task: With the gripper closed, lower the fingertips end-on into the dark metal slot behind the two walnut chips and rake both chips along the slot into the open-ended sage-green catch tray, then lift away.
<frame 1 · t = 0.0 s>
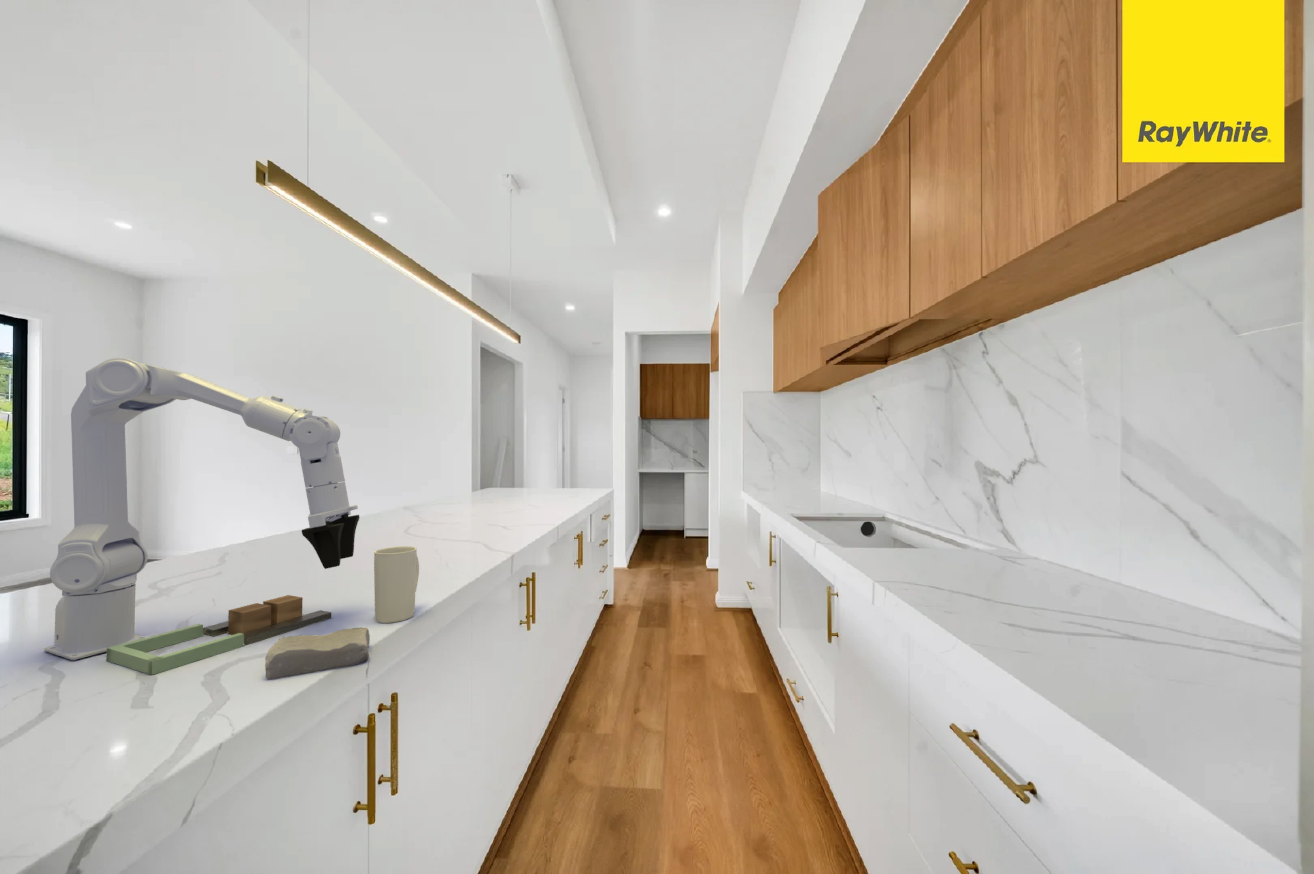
hand: (339, 562, 84), 11 cm above the table, tool pointing down, fingers open, 7 cm apart
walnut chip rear: (282, 622, 85), on the table
catch tray: (175, 653, 72), on the table
slot rails: (269, 625, 83), on the table
stone block: (322, 662, 70), on the table
walnut chip front: (249, 632, 80), on the table
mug: (400, 615, 89), on the table
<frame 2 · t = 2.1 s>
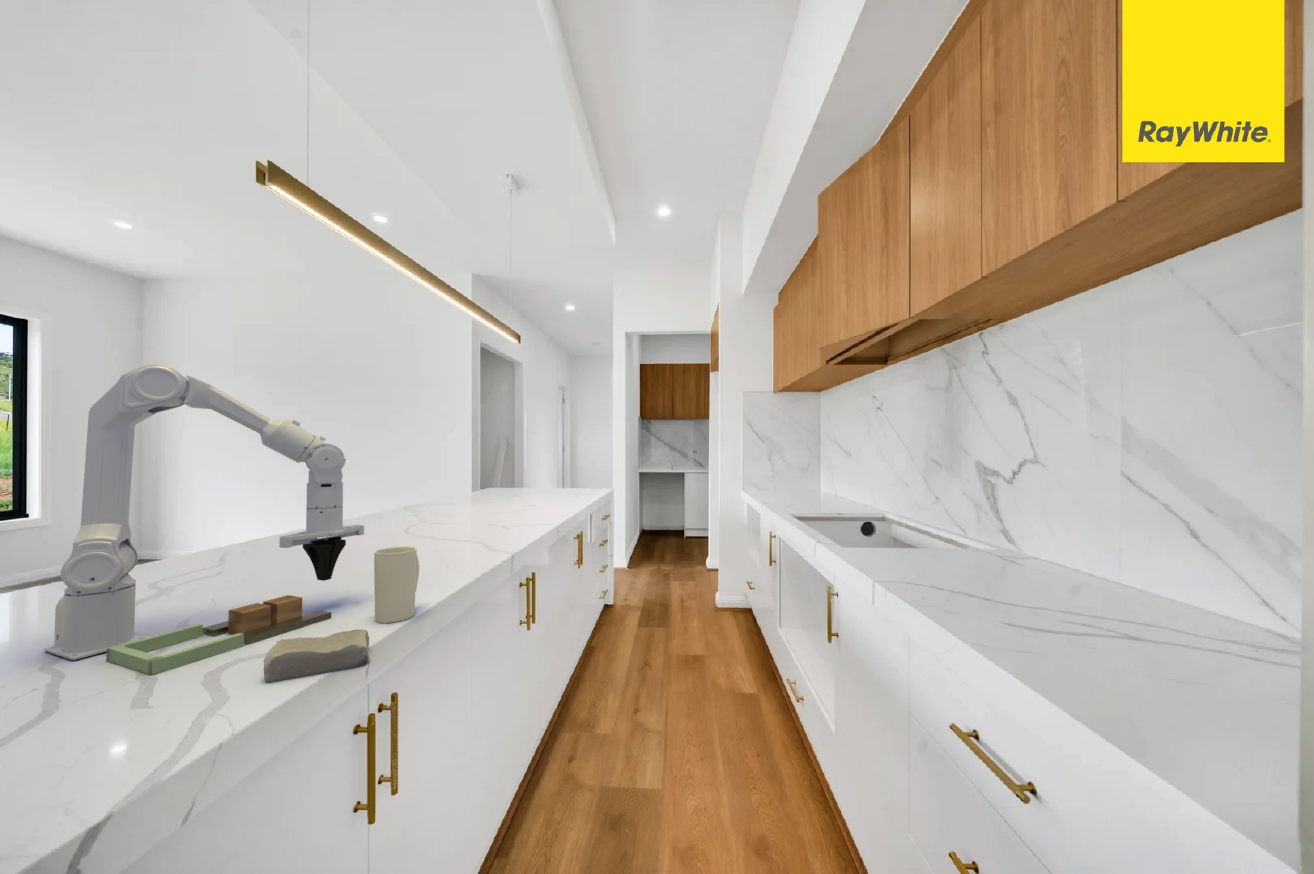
hand: (324, 579, 92), 6 cm above the table, tool pointing down, fingers closed
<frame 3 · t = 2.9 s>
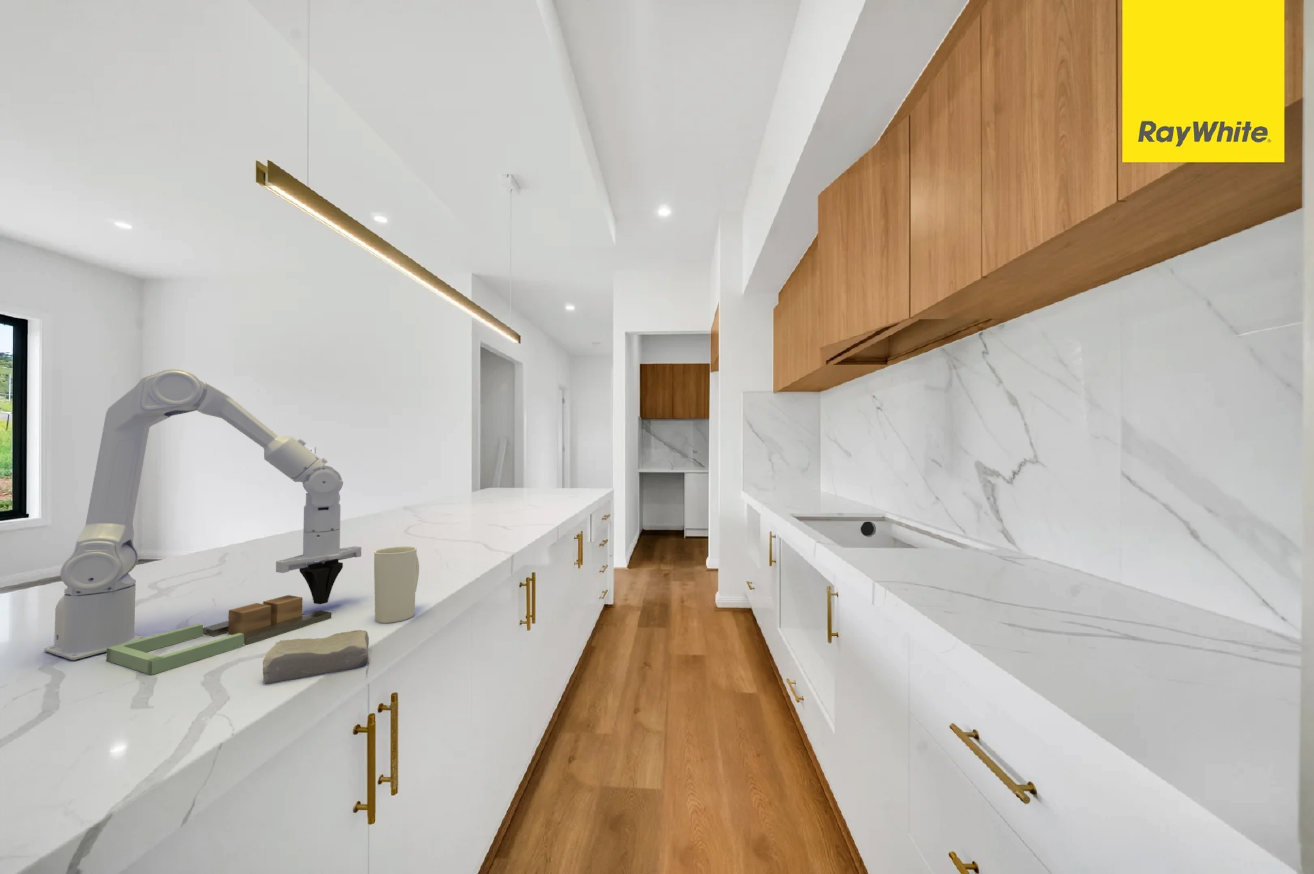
hand: (320, 602, 91), 1 cm above the table, tool pointing down, fingers closed
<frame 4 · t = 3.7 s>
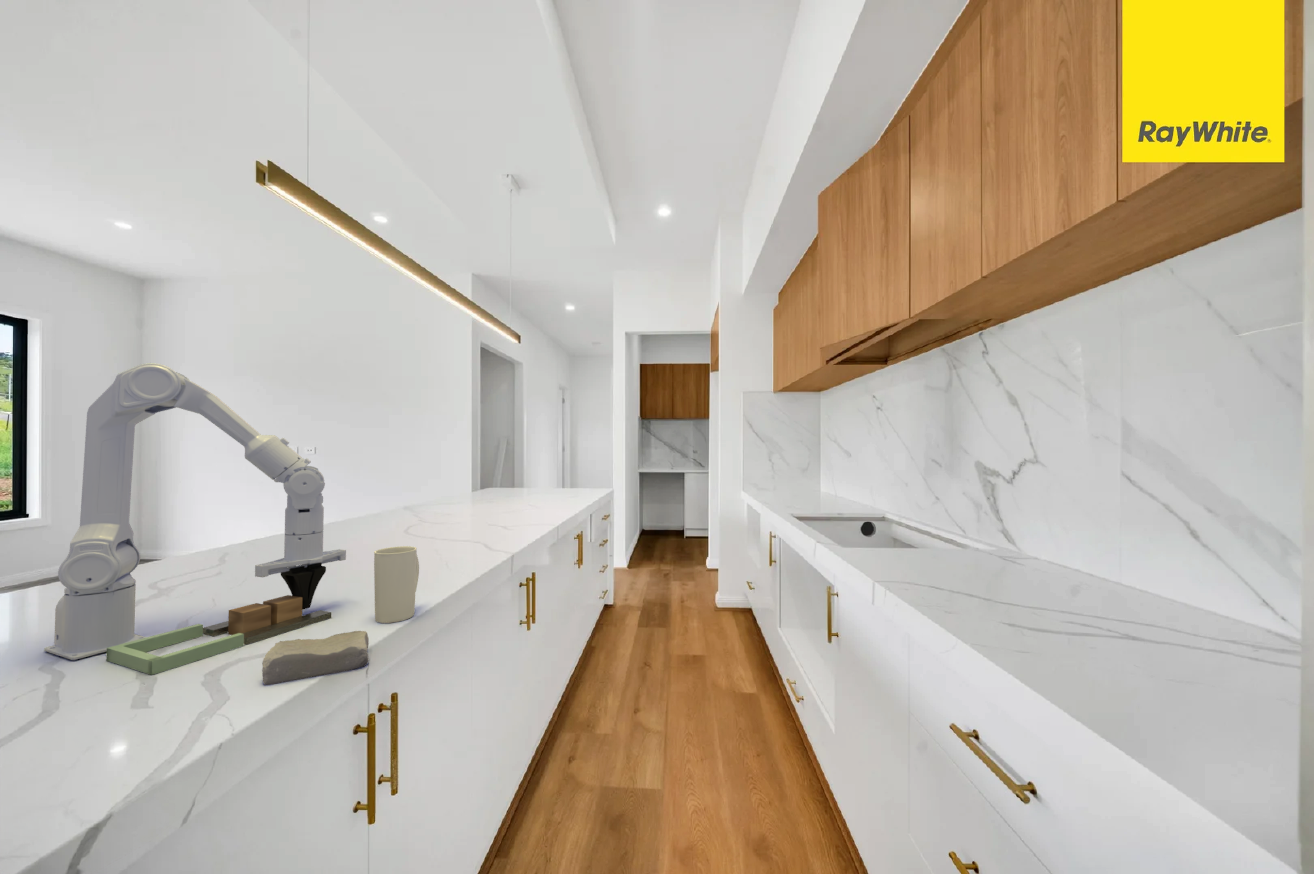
hand: (302, 607, 88), 1 cm above the table, tool pointing down, fingers closed
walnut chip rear: (282, 622, 85), on the table, touching gripper
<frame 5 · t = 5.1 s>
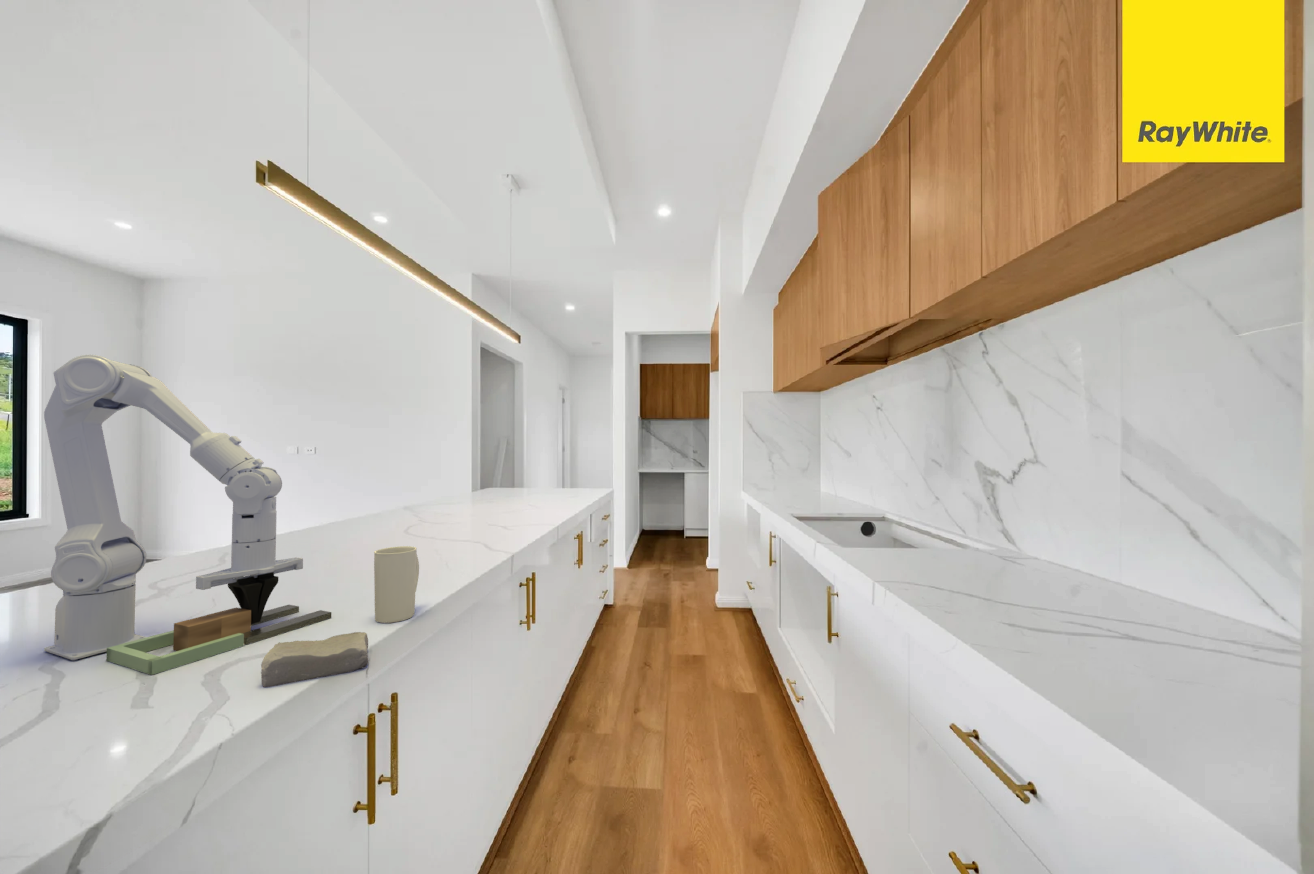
hand: (252, 622, 81), 1 cm above the table, tool pointing down, fingers closed
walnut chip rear: (228, 637, 78), on the table, touching gripper
walnut chip front: (197, 647, 74), on the table
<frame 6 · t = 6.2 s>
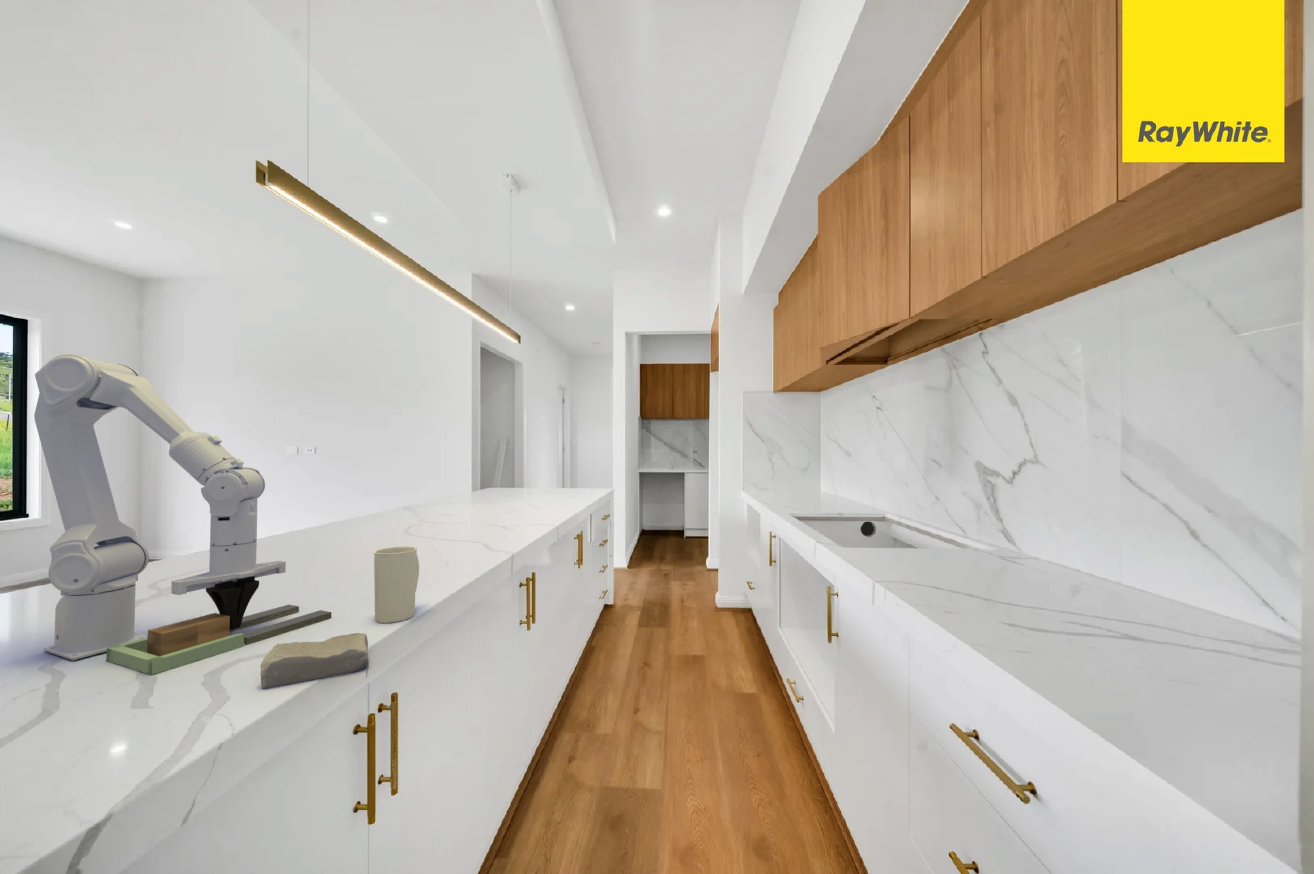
hand: (232, 627, 78), 1 cm above the table, tool pointing down, fingers closed
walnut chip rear: (206, 644, 75), on the table, touching gripper, walnut chip front
walnut chip front: (172, 654, 71), on the table, touching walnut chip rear
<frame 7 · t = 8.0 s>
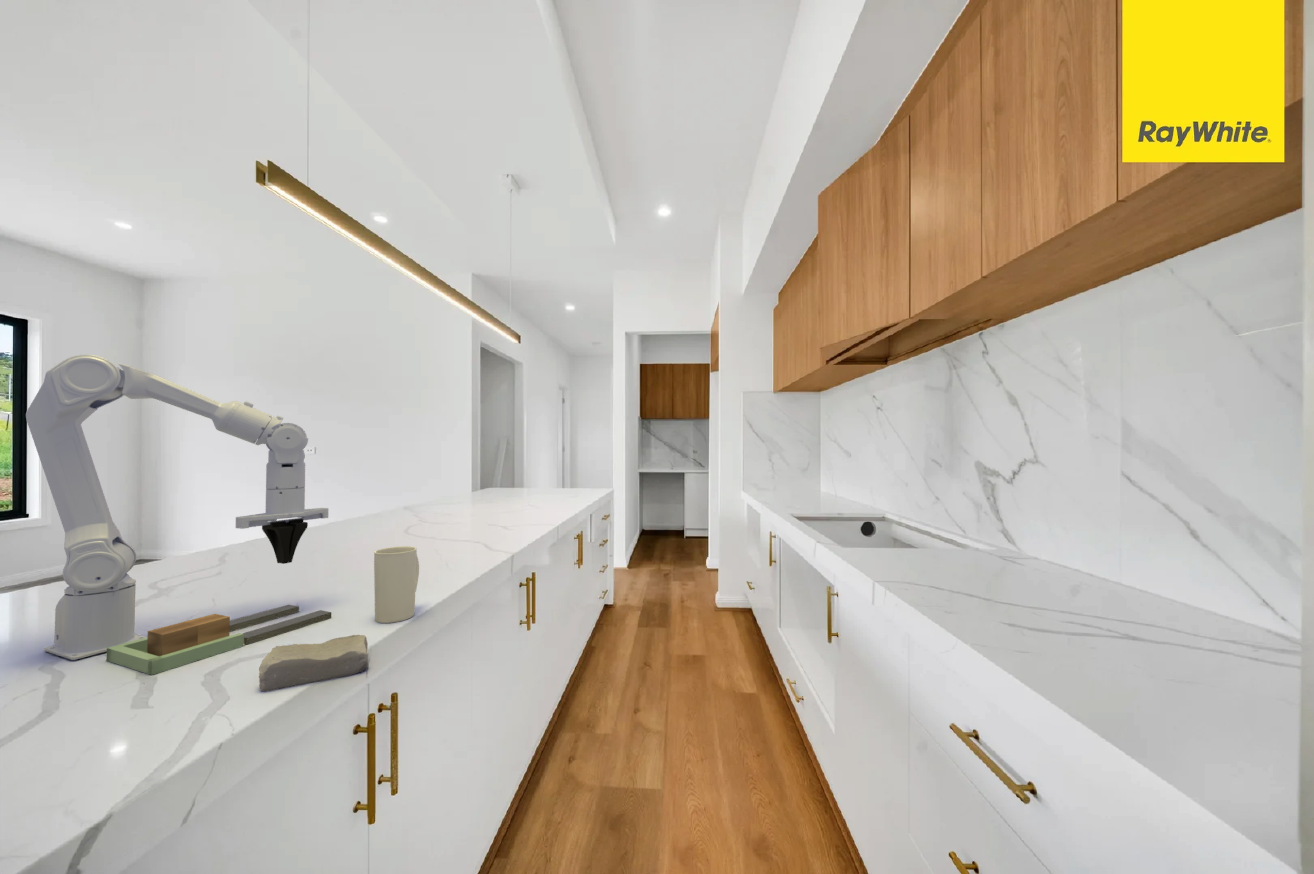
hand: (284, 562, 89), 9 cm above the table, tool pointing down, fingers closed
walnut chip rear: (206, 645, 75), on the table, touching walnut chip front
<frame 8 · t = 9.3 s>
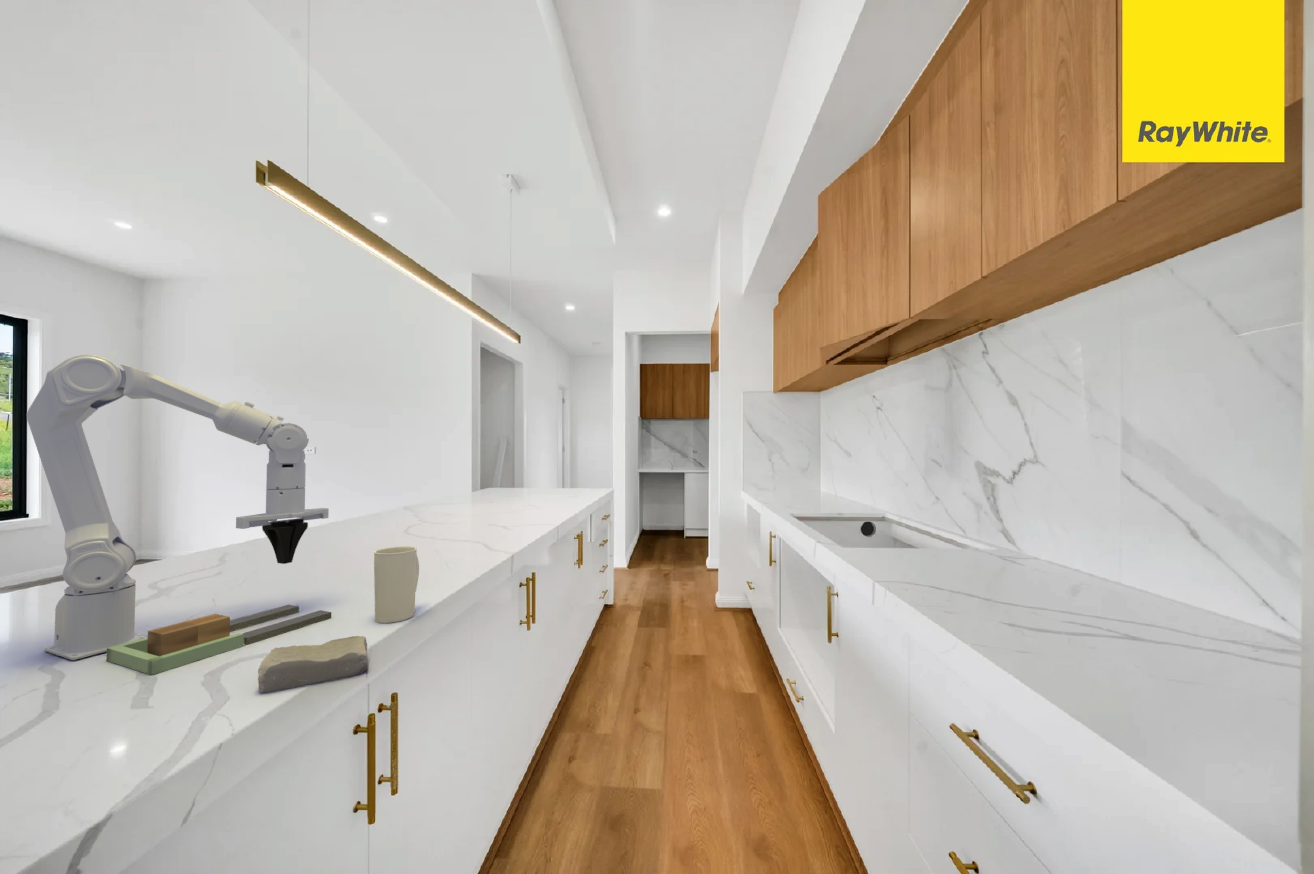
hand: (284, 562, 89), 9 cm above the table, tool pointing down, fingers closed
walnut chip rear: (206, 645, 75), on the table
walnut chip front: (172, 655, 71), on the table
at the end: walnut chip front inside the target area on the catch tray (1.6 cm from its centre), point 0.0 cm above the catch tray's base; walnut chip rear inside the target area on the catch tray (2.5 cm from its centre), point 0.0 cm above the catch tray's base; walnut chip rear tilted 0° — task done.
